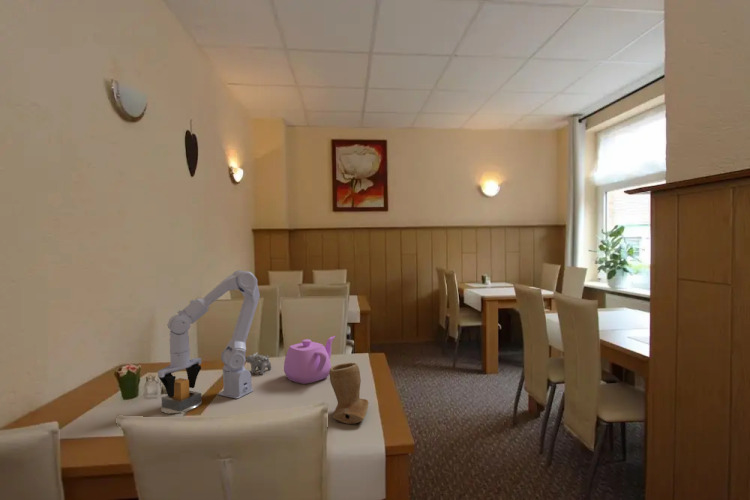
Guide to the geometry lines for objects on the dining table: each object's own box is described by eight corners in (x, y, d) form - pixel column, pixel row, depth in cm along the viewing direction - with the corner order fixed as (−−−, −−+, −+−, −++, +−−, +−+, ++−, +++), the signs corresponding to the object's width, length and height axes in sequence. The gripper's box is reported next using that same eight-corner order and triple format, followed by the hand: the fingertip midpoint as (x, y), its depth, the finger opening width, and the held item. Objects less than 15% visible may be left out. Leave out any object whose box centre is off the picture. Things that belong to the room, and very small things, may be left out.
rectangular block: (180, 401, 126) (180, 378, 126) (189, 403, 124) (188, 379, 124) (172, 405, 123) (171, 381, 123) (181, 407, 121) (180, 382, 121)
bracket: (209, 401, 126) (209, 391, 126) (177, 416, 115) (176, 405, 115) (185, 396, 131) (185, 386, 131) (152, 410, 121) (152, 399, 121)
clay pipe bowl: (335, 403, 122) (334, 357, 122) (371, 404, 120) (369, 358, 120) (323, 425, 107) (321, 373, 107) (363, 426, 105) (362, 374, 105)
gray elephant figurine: (268, 376, 151) (268, 357, 151) (237, 376, 150) (238, 357, 150) (272, 368, 160) (272, 351, 160) (243, 368, 159) (244, 351, 159)
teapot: (307, 392, 132) (306, 350, 131) (277, 378, 147) (276, 340, 147) (355, 375, 147) (354, 337, 147) (324, 364, 163) (323, 330, 162)
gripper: (191, 344, 131) (192, 382, 132) (150, 356, 118) (152, 398, 119) (204, 346, 128) (206, 385, 128) (165, 358, 115) (166, 401, 115)
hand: (181, 391), depth 123 cm, fingers open, 7 cm apart
